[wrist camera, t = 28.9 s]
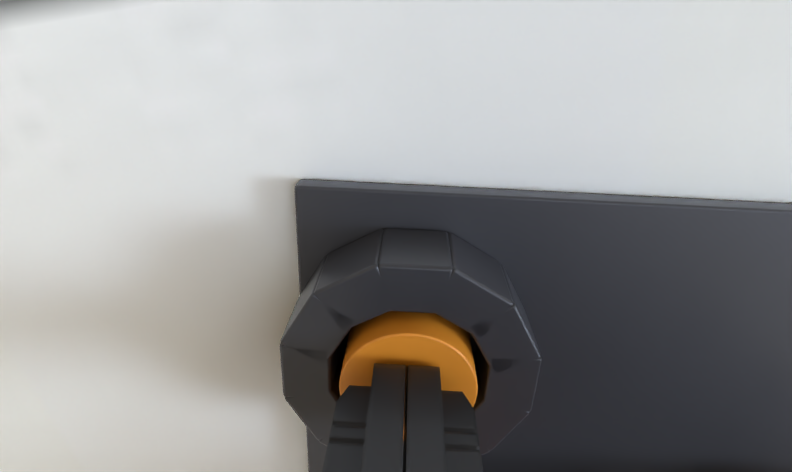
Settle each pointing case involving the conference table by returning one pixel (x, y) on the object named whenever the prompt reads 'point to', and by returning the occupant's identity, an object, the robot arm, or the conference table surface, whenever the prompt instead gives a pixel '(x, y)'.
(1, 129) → the conference table surface
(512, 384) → the coffee maker base
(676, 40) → the conference table surface
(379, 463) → the robot arm
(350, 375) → the brew button
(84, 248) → the conference table surface
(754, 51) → the conference table surface
